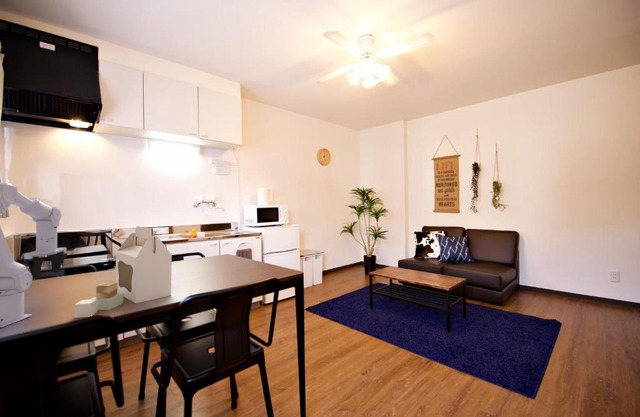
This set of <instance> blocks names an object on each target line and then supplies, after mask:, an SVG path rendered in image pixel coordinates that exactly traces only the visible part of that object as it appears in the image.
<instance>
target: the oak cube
mask: <svg viewBox="0 0 640 417" xmlns="http://www.w3.org/2000/svg"><path fill="white" fill-rule="evenodd" d="M117 289H118V282H116V281H115V282H113V281H112V282H111V281H110V282H109V281H105V282H102V283H99V284H96V286H95V291H96V292H95V295H96V296H95V297H96V298H110V297H113V296H115V295H117Z"/></svg>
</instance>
